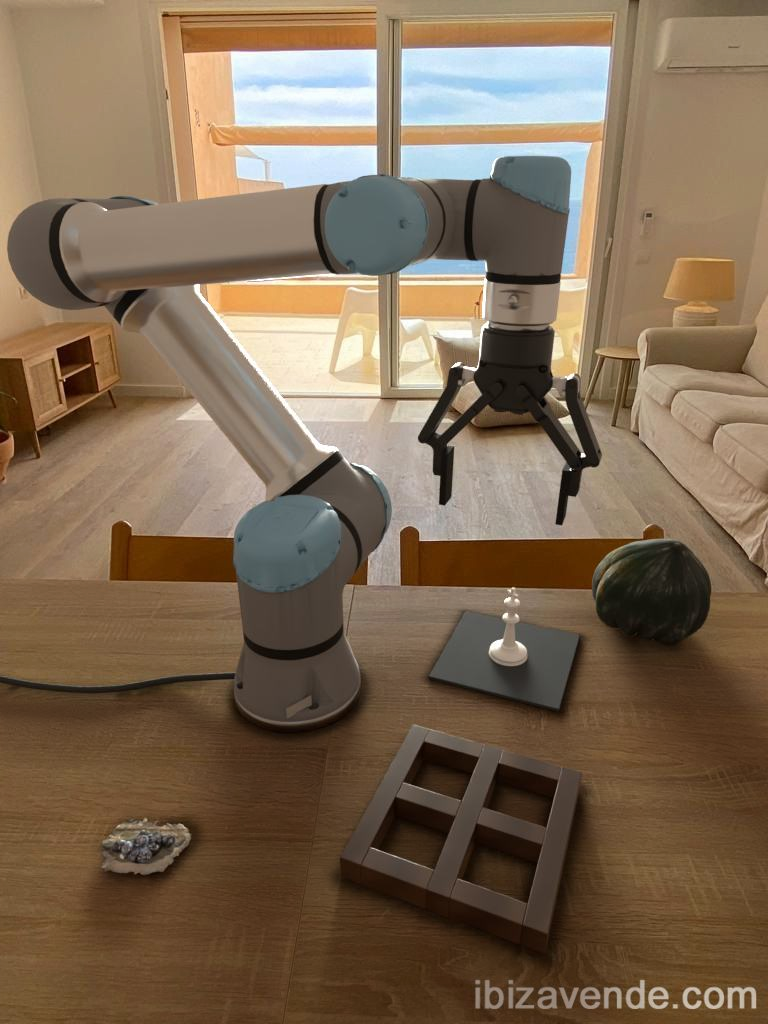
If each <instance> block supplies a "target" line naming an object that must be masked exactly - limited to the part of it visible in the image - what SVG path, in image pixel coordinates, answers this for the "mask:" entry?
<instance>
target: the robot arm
mask: <svg viewBox="0 0 768 1024" xmlns="http://www.w3.org/2000/svg"><path fill="white" fill-rule="evenodd" d="M571 181H572V167H571V165H570V164H569V162H568V160H566V159H565V158H563V157H560V156H555V155H553V156H552V155H513V156H512V155H507V156H506V155H505V156H498V157H497V158H496V159H495V160H494V161H493V164H492V170H491V172H490V174H489V178H487V177H486V178H482V179H479V178H476V179H453V178H452V179H451V178H422V177H410V176H408V177H404V176H403V177H397V176H393V175H390V174H385V173H384V174H383V173H382V174H381V173H380V174H369V175H368V174H367V175H362V176H359V177H357V178H354V179H352V180H347V181H346V180H345V181H338V182H335V183H331V184H330V183H329V184H327V183H321V184H313V185H305V186H304V185H303V186H297V187H290V188H289V187H288V188H280V189H273V190H265V191H256V192H247V193H239V194H231V195H223V196H214V197H207V198H199V199H191V200H190V199H189V200H182V201H173V202H167V203H157V202H155V201H152V200H150V199H144V198H139V197H135V196H128V195H118V196H111V197H109V198H63V197H61V198H58V197H56V198H49V199H44V200H42V201H37V202H35V203H33V204H31V205H28V206H27V207H26V208H24V209H23V210H22V211H21V212H20V213H18V215H17V216H16V218H15V219H14V221H13V222H12V224H11V225H10V229H9V231H8V235H7V242H6V243H7V245H6V251H7V259H8V262H9V265H10V268H11V271H12V272H13V274H14V276H15V278H16V280H17V281H18V282H19V284H20V285H21V286H22V287H23V289H24V290H25V291H27V293H28V294H30V295H31V296H32V297H33V298H35V299H36V300H38V301H40V302H41V303H42V304H44V305H47V306H49V307H53V308H54V309H55V308H56V309H60V310H66V311H80V310H81V311H82V310H88V309H95V308H100V307H104V308H105V309H106V310H107V312H108V313H109V314H110V315H111V316H112V318H113V319H114V320H115V321H116V322H117V324H119V326H120V327H121V328H122V330H123V331H125V332H127V333H135V334H141V335H143V336H144V337H145V338H146V339H147V341H148V342H149V343H150V345H151V346H152V347H153V348H154V349H155V350H156V352H157V353H158V354H159V355H160V357H161V358H162V359H163V360H164V361H165V363H166V364H167V365H168V367H169V368H170V369H171V371H172V372H173V373H174V374H175V375H176V376H177V378H178V379H179V381H180V382H181V383H182V384H183V385H184V387H185V388H186V389H187V390H188V391H189V393H190V394H191V395H192V396H193V398H194V399H195V400H196V401H197V402H198V404H199V405H200V406H201V408H202V409H203V410H204V411H205V413H207V415H208V416H209V418H210V419H211V420H212V421H213V422H214V424H215V425H216V426H217V427H218V428H219V430H220V431H221V432H222V434H223V435H224V436H225V438H226V439H227V440H228V441H229V442H230V444H232V446H233V447H234V448H235V450H236V451H237V453H239V455H240V456H241V457H242V458H243V460H244V461H245V462H246V463H247V465H248V466H249V467H250V468H251V469H252V471H253V472H254V473H255V474H256V476H257V477H258V478H259V479H260V481H261V482H262V484H264V486H265V500H264V501H262V502H260V503H258V504H256V505H255V506H252V507H251V508H250V509H249V510H247V511H246V512H245V513H244V514H243V515H242V517H241V518H240V519H239V520H238V522H237V523H236V524H237V525H236V526H235V529H234V533H233V551H232V552H233V554H232V555H233V556H232V562H233V567H234V569H235V575H236V583H237V591H238V600H239V601H238V602H239V606H240V607H239V609H240V610H239V611H240V617H241V626H242V627H241V628H242V634H243V635H242V636H243V644H242V647H241V651H240V655H239V659H238V663H237V665H236V670H235V671H231V672H230V671H229V672H211V673H192V674H191V673H190V674H179V675H170V676H163V677H157V678H152V679H146V680H141V681H135V682H129V683H121V684H111V685H72V684H71V685H69V684H59V683H48V682H38V681H31V680H27V679H25V680H24V679H19V678H15V677H10V676H5V675H1V674H0V684H6V685H10V686H15V687H20V688H26V689H32V690H40V691H48V692H49V691H50V692H59V693H70V694H71V693H72V694H74V693H75V694H108V693H121V692H129V691H134V690H140V689H146V688H149V687H156V686H161V685H162V686H163V685H168V684H176V683H187V682H207V681H208V682H209V681H223V680H224V681H225V680H226V681H227V680H233V695H234V696H233V697H234V701H235V702H234V703H235V705H236V708H237V710H238V712H239V713H240V714H241V715H242V717H243V718H245V719H246V720H247V721H248V722H250V723H251V724H253V725H255V726H257V727H260V728H262V729H265V730H269V731H274V732H280V733H300V732H301V733H302V732H308V731H313V730H317V729H320V728H323V727H326V726H328V725H330V724H332V723H334V722H336V721H338V720H339V719H341V718H343V717H344V716H345V715H346V714H347V713H349V712H350V711H351V709H353V707H354V706H355V705H356V703H357V702H358V700H359V698H360V694H361V692H362V691H361V689H362V683H361V681H362V679H361V677H362V676H361V670H360V666H359V663H358V661H357V659H356V657H355V655H354V652H353V649H352V647H351V645H350V642H349V640H348V638H347V636H346V633H345V628H344V627H345V626H344V600H343V599H344V598H343V595H344V589H345V586H347V584H348V583H349V582H350V581H351V579H352V578H353V576H355V574H356V573H357V571H358V570H359V569H360V568H361V567H362V565H363V564H364V563H365V562H366V560H367V559H368V557H369V556H370V555H371V554H372V553H374V552H375V551H376V550H377V549H378V547H379V546H380V544H381V543H382V541H383V540H384V538H385V535H386V533H387V531H388V530H389V527H390V525H391V521H392V512H393V509H392V508H393V506H392V499H391V496H390V493H389V491H388V488H387V486H386V485H385V483H384V482H383V480H382V479H381V477H380V476H379V475H378V474H376V473H375V472H374V471H373V470H371V469H370V468H369V467H366V466H365V465H358V464H357V463H355V462H349V461H348V460H347V458H345V457H344V455H343V454H342V452H341V451H340V450H339V449H338V448H337V447H335V446H328V445H322V444H320V443H319V442H318V441H317V440H316V439H315V438H314V437H313V435H312V434H311V433H310V431H309V430H308V428H306V426H305V424H304V423H302V421H301V420H300V419H299V417H298V416H297V415H296V413H295V412H294V411H293V410H292V409H291V407H290V406H289V405H288V403H287V402H286V401H285V399H284V398H283V397H282V395H280V393H279V392H278V391H277V389H276V388H275V387H274V386H273V384H272V383H271V382H270V381H269V379H268V378H267V377H266V376H265V374H264V373H263V372H262V370H261V369H260V368H259V366H257V364H256V362H255V361H254V360H253V359H252V358H251V357H250V355H249V354H248V353H247V352H246V350H245V349H244V348H243V346H242V345H241V344H240V343H239V341H238V340H237V339H236V338H235V337H234V335H233V334H232V332H231V331H230V329H228V327H227V326H226V324H225V323H223V321H222V320H221V319H220V317H219V316H218V315H217V313H216V312H215V311H214V310H213V308H212V307H211V305H210V304H209V303H208V302H207V301H206V299H205V298H204V297H203V296H202V294H201V293H200V286H201V285H202V286H203V285H214V284H215V285H216V284H227V283H240V282H241V283H243V282H256V281H264V280H265V281H267V280H268V281H269V280H282V279H293V278H306V277H307V278H308V277H320V276H321V277H322V276H332V275H333V276H335V275H355V274H356V275H357V274H359V275H363V276H368V277H379V276H386V275H392V274H396V273H398V272H400V271H402V270H404V269H405V268H408V267H411V266H415V265H418V264H421V263H424V262H425V263H426V262H428V261H431V260H433V261H437V260H439V261H442V260H443V261H470V262H478V261H479V262H480V261H481V262H485V273H484V286H483V299H482V300H483V301H482V314H481V315H482V318H483V320H484V321H486V323H485V324H483V326H482V327H481V329H480V341H479V343H480V344H479V358H478V365H477V368H475V367H469V366H466V364H465V363H464V362H461V361H458V362H457V363H455V364H454V365H452V366H451V367H450V368H449V370H448V374H447V380H446V381H447V382H446V386H445V388H444V390H443V391H442V393H441V395H440V397H439V398H438V400H437V402H436V404H435V406H434V407H433V409H432V410H431V412H430V415H429V416H428V418H427V420H426V422H425V423H424V425H423V427H422V428H421V430H420V432H419V433H418V435H417V441H418V442H419V443H420V444H423V445H424V444H426V445H428V446H429V447H431V449H432V473H433V475H434V476H437V477H439V492H438V493H439V495H438V505H439V506H446V505H447V504H448V502H450V499H452V497H453V496H452V495H453V493H452V492H453V478H454V462H455V461H454V460H455V446H454V445H450V444H449V443H450V442H451V441H452V440H453V439H454V438H455V437H457V435H458V434H460V432H461V431H462V430H463V429H464V428H465V427H466V426H468V424H470V423H471V421H473V420H474V419H475V418H476V417H477V416H478V415H479V414H480V413H481V412H482V411H483V410H484V409H486V407H487V406H489V408H490V409H492V410H494V412H495V413H506V412H507V413H508V412H509V413H512V414H513V415H519V416H523V415H524V414H527V413H530V414H531V417H532V418H533V419H534V420H535V421H536V422H538V423H539V425H540V426H541V428H542V430H543V431H544V432H545V434H546V435H547V437H548V438H549V439H550V441H551V442H552V444H553V445H554V447H555V448H556V449H557V451H558V452H559V454H560V455H561V457H562V458H563V459H564V461H565V462H564V465H563V468H562V470H561V475H560V476H561V477H560V485H559V492H558V500H557V509H556V516H555V523H554V524H555V525H556V526H563V525H564V523H565V519H566V516H567V510H568V501H569V497H574V498H576V497H577V496H578V494H579V492H580V489H581V482H582V475H583V470H584V469H587V468H597V467H599V465H600V463H601V460H602V457H603V453H602V450H601V447H600V444H599V442H598V439H597V436H596V434H595V430H594V428H593V425H592V422H591V420H590V417H589V414H588V412H587V409H586V406H585V403H584V401H583V398H582V395H581V382H582V381H581V376H580V375H579V374H578V373H571V374H570V375H569V376H567V375H566V376H554V374H553V372H552V361H553V360H552V359H553V352H554V351H553V350H554V342H555V334H556V331H555V330H554V327H552V326H551V325H552V324H553V323H555V322H556V321H557V318H558V317H557V316H558V309H559V301H560V291H561V279H562V271H563V270H562V269H563V263H564V262H563V261H564V255H565V246H566V239H567V230H568V224H569V217H570V211H571V208H570V197H571V185H572V184H571ZM471 380H473V382H474V384H475V386H476V387H477V389H478V390H479V392H480V396H479V397H478V398H477V399H476V400H475V401H474V402H473V403H472V404H471V405H470V406H469V407H468V408H467V409H466V410H465V411H464V412H463V413H462V414H461V415H460V416H459V417H458V418H457V419H455V420H454V422H453V423H452V424H450V426H448V428H447V429H445V431H443V432H442V434H440V433H438V432H437V431H438V428H439V427H440V425H441V423H442V421H443V420H444V418H445V416H446V415H447V414H448V411H449V410H450V408H451V406H452V404H453V403H454V401H455V400H456V398H457V396H458V395H459V392H460V390H461V389H462V388H464V387H465V386H467V385H468V384H469V382H470V381H471ZM552 389H556V391H557V393H558V396H559V397H560V398H562V399H565V405H566V408H567V412H568V413H569V416H570V419H571V422H572V425H573V427H574V429H575V432H576V435H577V438H578V441H579V443H580V446H581V448H582V451H583V453H582V451H581V450H580V448H579V447H578V446H577V444H576V443H575V441H574V440H573V438H572V437H571V435H570V434H569V433H568V431H567V430H566V428H565V427H564V425H563V424H562V422H561V421H560V420H559V418H558V417H557V415H556V414H555V412H554V410H553V409H552V406H551V404H550V403H549V401H548V400H547V399H546V396H547V395H548V393H550V391H551V390H552ZM448 444H449V445H448Z"/></svg>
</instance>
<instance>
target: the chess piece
mask: <svg viewBox="0 0 768 1024" xmlns="http://www.w3.org/2000/svg"><path fill="white" fill-rule="evenodd" d="M506 592H507V594H508V595H509V597H508V598H507V597H506V598H505V599H504V601H503V604H504V608H505V611H506V613H504V614H503V615H502V618H501V619H503V620H504V621H505V622H507V624H506V629H505V633H504V638H503V640H498V641H496V642H494V643H493V644H492V645H491V646H490V650H489V656H490V658H491V659H492V660H493V661H495V662H496V663H498V664H501V665H504V666H517V665H521V664H523V663H524V662H525V661H526V660H527V650H526V648H525V647H524V646H523V645H522V644H521V643H519V642H517V641H516V640H515V623H517V622H520V620H521V619H520V616H519V615H518V614H517V612H518V611H519V608H520V606H521V601H520V600H519V597H520V595H519V594H518V593H517V588H516V587H515V586H512V587H511V588H510V589H507V591H506Z"/></svg>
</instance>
